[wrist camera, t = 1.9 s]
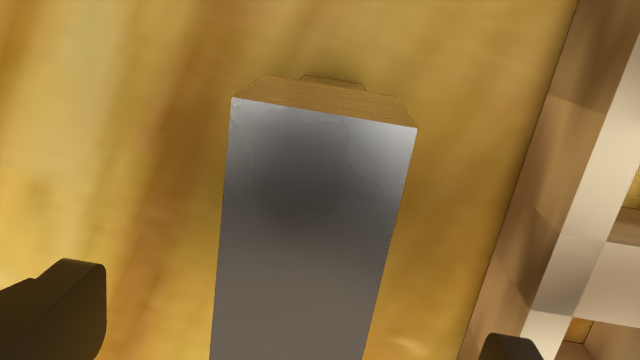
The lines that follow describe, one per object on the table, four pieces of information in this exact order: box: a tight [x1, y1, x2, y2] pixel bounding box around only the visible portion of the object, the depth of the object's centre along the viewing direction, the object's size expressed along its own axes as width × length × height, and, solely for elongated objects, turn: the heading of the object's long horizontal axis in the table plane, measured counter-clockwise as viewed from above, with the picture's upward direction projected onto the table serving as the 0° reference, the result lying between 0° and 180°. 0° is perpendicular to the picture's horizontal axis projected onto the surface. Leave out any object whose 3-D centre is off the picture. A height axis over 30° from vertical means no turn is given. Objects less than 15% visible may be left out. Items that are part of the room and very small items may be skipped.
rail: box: [457, 0, 640, 360], centre depth 14 cm, size 20×6×4 cm, turn 171°
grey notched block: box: [209, 75, 418, 360], centre depth 12 cm, size 9×3×8 cm, turn 171°
